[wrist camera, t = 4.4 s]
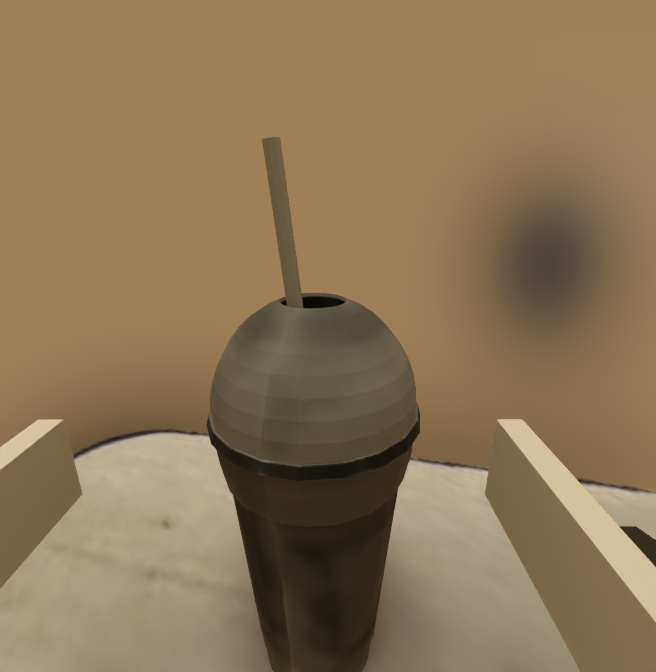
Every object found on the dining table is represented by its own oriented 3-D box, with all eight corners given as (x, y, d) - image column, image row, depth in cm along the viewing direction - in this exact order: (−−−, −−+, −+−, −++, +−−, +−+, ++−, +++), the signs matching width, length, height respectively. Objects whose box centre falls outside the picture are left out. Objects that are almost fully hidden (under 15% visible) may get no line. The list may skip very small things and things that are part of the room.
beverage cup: (438, 666, 16) (507, 133, 10) (279, 804, 12) (222, 88, 6) (340, 544, 22) (343, 161, 16) (213, 612, 18) (149, 147, 12)
